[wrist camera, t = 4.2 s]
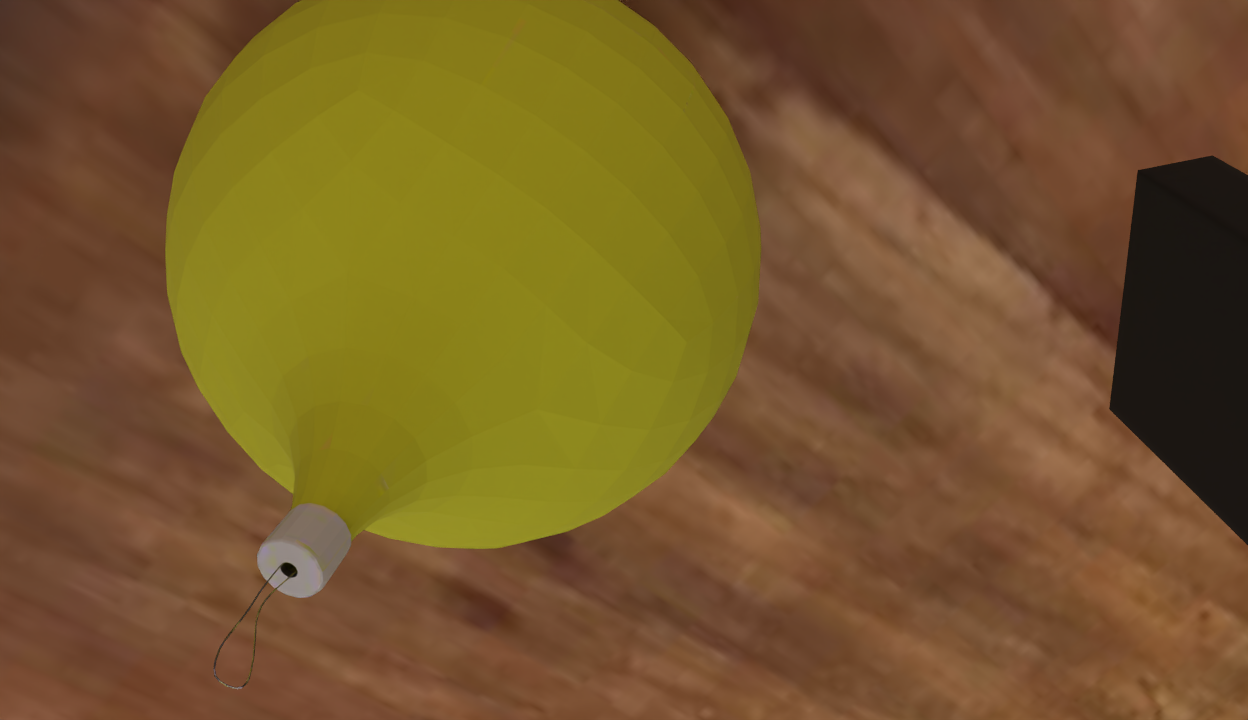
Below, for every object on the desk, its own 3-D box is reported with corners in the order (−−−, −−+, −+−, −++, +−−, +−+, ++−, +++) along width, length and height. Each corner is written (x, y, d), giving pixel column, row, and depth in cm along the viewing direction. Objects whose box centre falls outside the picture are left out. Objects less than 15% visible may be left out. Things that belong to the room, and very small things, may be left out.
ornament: (103, 175, 17) (-193, 693, 8) (433, -214, 15) (501, -80, 6) (475, 436, 20) (545, 999, 11) (779, 143, 18) (1129, 548, 10)
